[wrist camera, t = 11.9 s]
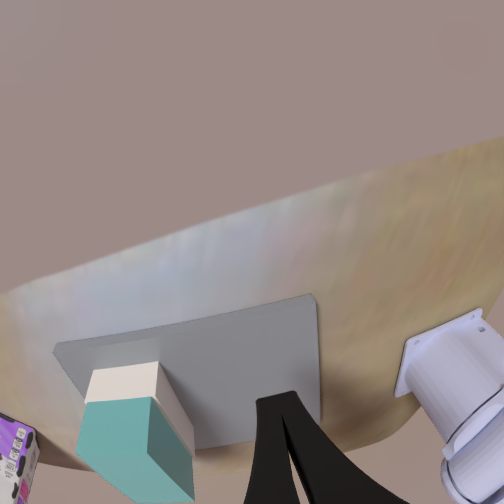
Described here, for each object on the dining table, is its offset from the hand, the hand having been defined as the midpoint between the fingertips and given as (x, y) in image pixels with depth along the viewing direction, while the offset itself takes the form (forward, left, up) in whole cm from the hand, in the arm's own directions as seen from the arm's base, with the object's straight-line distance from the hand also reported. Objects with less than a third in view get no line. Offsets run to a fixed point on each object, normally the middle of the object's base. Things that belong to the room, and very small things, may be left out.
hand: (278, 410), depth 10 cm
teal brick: (+9, +8, -5) cm, 13 cm away
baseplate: (+5, +9, -9) cm, 14 cm away
